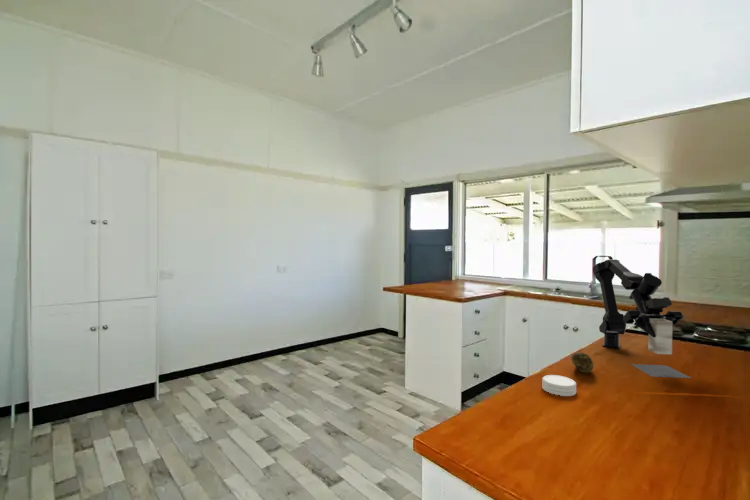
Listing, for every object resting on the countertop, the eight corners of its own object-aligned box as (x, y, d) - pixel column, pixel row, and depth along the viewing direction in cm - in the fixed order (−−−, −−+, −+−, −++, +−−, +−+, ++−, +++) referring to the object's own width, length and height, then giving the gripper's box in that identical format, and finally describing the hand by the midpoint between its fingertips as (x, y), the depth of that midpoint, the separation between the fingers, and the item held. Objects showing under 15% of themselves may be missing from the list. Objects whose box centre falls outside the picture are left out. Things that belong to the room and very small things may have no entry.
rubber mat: (630, 365, 141) (630, 364, 141) (666, 366, 139) (666, 365, 139) (651, 378, 128) (651, 376, 128) (691, 379, 126) (691, 378, 126)
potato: (600, 370, 135) (600, 349, 135) (589, 379, 126) (589, 357, 126) (576, 365, 141) (576, 345, 141) (564, 373, 132) (564, 351, 132)
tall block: (648, 349, 136) (648, 318, 136) (662, 350, 135) (663, 318, 135) (657, 353, 131) (657, 321, 131) (671, 354, 130) (672, 321, 130)
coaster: (580, 390, 118) (580, 380, 118) (570, 400, 111) (570, 388, 111) (548, 382, 125) (548, 372, 125) (537, 390, 118) (537, 379, 118)
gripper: (627, 289, 138) (645, 324, 127) (680, 290, 136) (703, 326, 125) (615, 306, 146) (631, 340, 135) (665, 307, 144) (685, 342, 133)
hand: (662, 337), depth 132 cm, fingers closed on tall block, 5 cm apart
